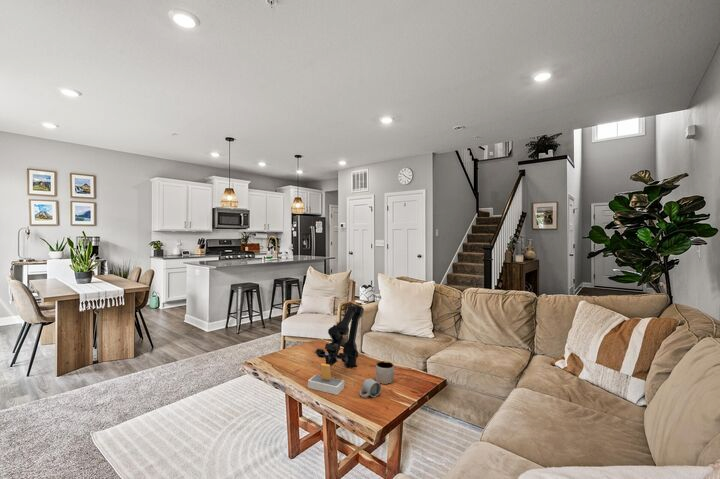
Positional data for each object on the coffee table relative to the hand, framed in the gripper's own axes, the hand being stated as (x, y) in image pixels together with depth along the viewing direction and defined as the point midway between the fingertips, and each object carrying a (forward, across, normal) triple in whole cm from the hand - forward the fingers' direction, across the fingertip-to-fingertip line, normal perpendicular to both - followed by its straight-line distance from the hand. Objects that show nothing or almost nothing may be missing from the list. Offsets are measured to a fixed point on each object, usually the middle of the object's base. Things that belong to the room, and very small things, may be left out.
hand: (326, 369), depth 183 cm
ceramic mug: (+5, +24, +10) cm, 27 cm away
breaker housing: (+7, 0, +7) cm, 10 cm away
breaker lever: (+4, 0, +4) cm, 6 cm away
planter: (-10, +26, +24) cm, 37 cm away
